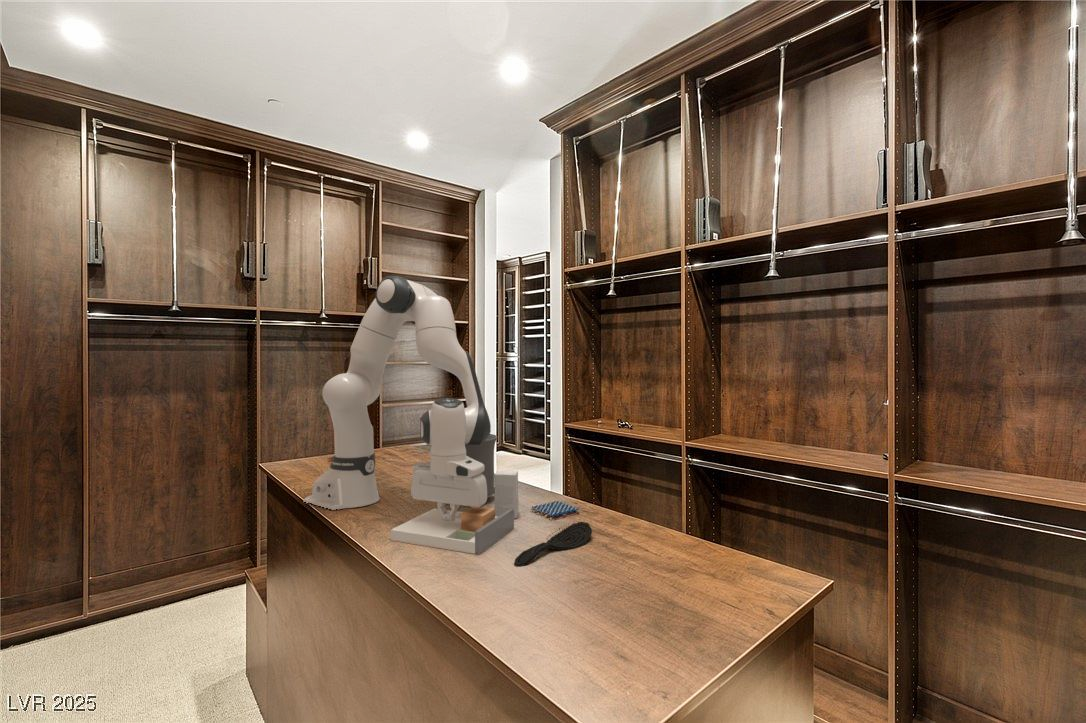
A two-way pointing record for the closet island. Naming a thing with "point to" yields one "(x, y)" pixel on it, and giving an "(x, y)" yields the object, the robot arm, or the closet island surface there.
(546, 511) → the woven mat
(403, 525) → the trap deck
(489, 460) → the mug
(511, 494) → the skincare box
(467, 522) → the block
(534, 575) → the closet island surface
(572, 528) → the hairbrush
